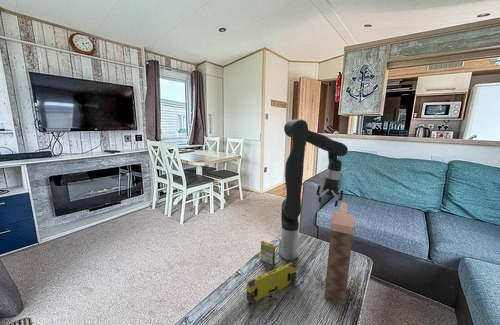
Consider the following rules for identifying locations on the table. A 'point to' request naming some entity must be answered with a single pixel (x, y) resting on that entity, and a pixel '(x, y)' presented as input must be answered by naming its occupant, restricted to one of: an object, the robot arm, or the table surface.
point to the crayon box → (267, 252)
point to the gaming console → (270, 282)
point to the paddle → (342, 221)
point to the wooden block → (338, 266)
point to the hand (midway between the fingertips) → (327, 204)
